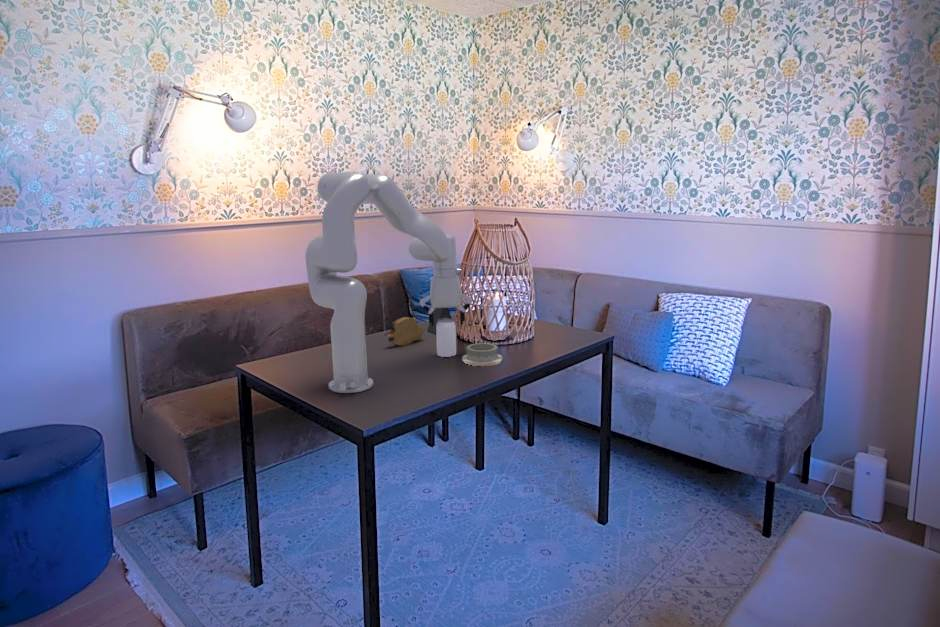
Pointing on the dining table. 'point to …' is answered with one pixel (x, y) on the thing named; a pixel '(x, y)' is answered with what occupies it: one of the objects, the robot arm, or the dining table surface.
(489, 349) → the cup holder
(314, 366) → the dining table surface
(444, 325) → the can
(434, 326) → the phone stand
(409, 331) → the wooden carving
